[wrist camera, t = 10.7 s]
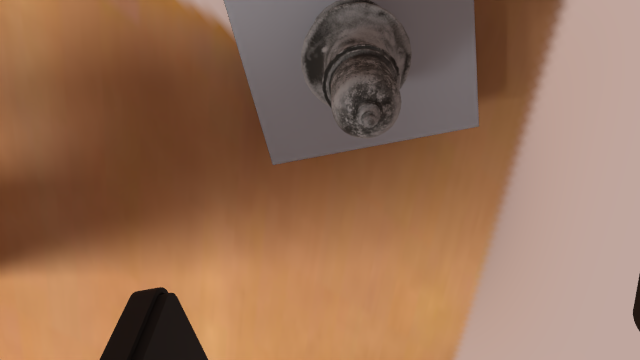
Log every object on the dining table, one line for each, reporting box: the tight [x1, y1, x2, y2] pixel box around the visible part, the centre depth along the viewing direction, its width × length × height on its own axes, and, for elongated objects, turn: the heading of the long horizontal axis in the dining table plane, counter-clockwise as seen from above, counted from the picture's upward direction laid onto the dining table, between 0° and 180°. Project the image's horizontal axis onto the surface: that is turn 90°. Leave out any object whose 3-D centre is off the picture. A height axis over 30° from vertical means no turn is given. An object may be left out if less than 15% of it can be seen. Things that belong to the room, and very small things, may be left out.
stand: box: [224, 0, 479, 165], centre depth 29 cm, size 14×14×4 cm
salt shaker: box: [301, 0, 412, 138], centre depth 22 cm, size 6×6×12 cm
